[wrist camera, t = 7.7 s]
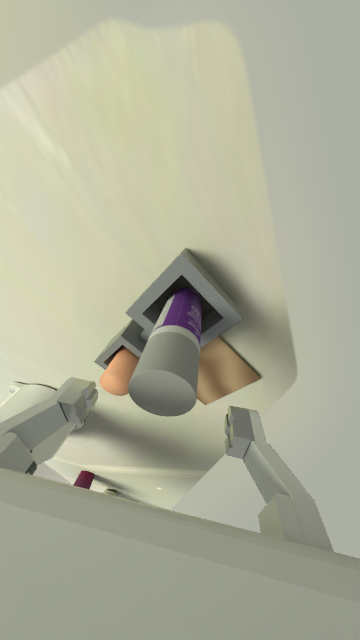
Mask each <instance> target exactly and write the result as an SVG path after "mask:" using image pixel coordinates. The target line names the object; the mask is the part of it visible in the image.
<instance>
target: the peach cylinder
mask: <svg viewBox="0 0 360 640" xmlns="http://www.w3.org/2000/svg"><path fill="white" fill-rule="evenodd" d="M139 359H140V358H139V357H138V356H136V355H135V354H134V353H132V352H131V351H130V350H129V349H127V348H126V347H125V346H123V345H122V347H121V348H120V350H119V351H118V353H117V354H116V356H115V357H114V358H113V360H112V361H111V363H110V364H109V366H108V367H107V369H106V370H105V372H104V373H103V375H102V376H101V378H100V384H101V386H102V387H103V389H105V390H106V391H107V392H109V393H111V394H114V395H118V396H123V395H126V394H128V393H129V391H128V385H129V382H130V380H131V377H132V375H133V373H134V371H135V368H136V366H137V364H138V362H139Z"/></svg>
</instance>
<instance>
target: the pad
mask: <svg viewBox="0 0 360 640" xmlns="http://www.w3.org/2000/svg"><path fill="white" fill-rule="evenodd" d="M259 379H261V378H260V376H259V375H258V374H257V373H256V372H255V371H254V370H253V369H252V368H251V367H250V366H249V365H248V364H247V363H246V362H245V361H244V360H243V359H242V358H241V357H240V356H239V355H238V354H237V353H236V352H235V351H234V350H233V349H232V348H231V347H230V346H229V345H228V344H227V343H226V342H225V341H224V340H223V339H222V338H221V337H220V336H217V337H216V338H214V339H213V340H211V341H210V342H208V343H207V344H205V345H204V346H203V347H201V348H200V358H199V371H198V384H197V397H196V398H197V399H198V400H200V401H201V402H202V403H203V404H205V405H207V404H209V403H211V402H213V401H215V400H217V399H219V398H221V397H223V396H226V395H228V394H230V393H232V392H234V391H236V390H238V389H240V388H242V387H244V386H246V385H249V384H251V383H253V382H255V381H257V380H259Z"/></svg>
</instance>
